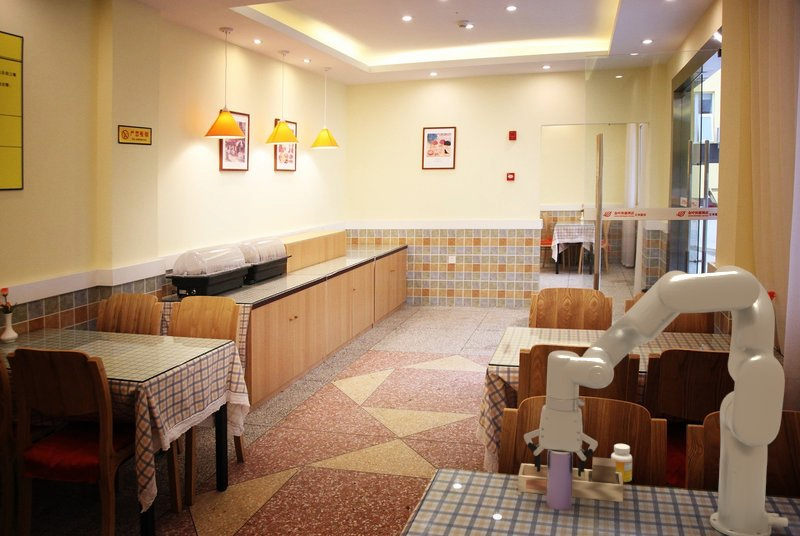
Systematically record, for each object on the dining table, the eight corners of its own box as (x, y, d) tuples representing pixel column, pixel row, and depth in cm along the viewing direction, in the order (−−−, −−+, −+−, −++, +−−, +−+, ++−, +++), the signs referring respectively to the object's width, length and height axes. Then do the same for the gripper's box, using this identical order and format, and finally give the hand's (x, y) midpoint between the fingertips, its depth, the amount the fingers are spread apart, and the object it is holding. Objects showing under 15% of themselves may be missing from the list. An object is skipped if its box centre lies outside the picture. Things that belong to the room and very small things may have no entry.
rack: (620, 491, 182) (621, 472, 181) (622, 506, 173) (623, 486, 172) (521, 481, 188) (521, 463, 188) (517, 495, 179) (518, 476, 179)
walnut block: (614, 489, 180) (615, 459, 180) (615, 498, 175) (616, 466, 174) (591, 487, 182) (592, 457, 181) (592, 495, 176) (592, 464, 176)
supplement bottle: (606, 479, 189) (606, 444, 188) (621, 476, 191) (622, 441, 190) (620, 487, 184) (621, 450, 183) (636, 483, 187) (637, 447, 186)
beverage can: (572, 515, 168) (573, 453, 167) (546, 512, 169) (547, 452, 168) (571, 504, 174) (572, 445, 172) (546, 502, 175) (547, 443, 174)
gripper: (599, 402, 170) (595, 470, 172) (526, 395, 175) (524, 462, 176) (599, 411, 163) (596, 482, 165) (524, 404, 167) (521, 473, 169)
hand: (558, 472), depth 171 cm, fingers open, 9 cm apart
